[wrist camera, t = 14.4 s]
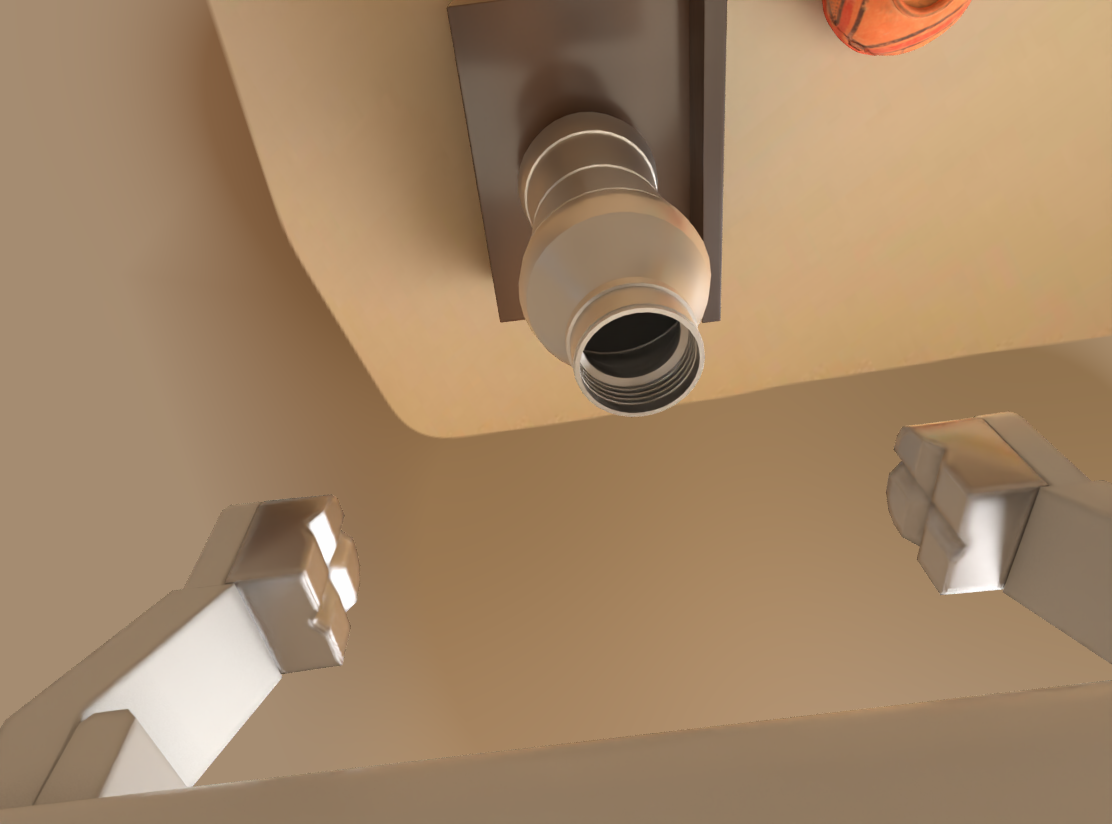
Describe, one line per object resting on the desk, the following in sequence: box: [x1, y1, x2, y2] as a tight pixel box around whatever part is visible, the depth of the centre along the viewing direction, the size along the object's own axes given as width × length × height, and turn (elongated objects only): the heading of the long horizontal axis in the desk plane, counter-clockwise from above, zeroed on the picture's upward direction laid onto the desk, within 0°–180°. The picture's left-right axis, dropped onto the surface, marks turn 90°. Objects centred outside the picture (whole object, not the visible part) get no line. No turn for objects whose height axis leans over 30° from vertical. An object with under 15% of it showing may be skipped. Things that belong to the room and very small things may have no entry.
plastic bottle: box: [518, 112, 711, 417], centre depth 28 cm, size 6×7×20 cm
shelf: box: [447, 0, 727, 323], centre depth 38 cm, size 12×16×9 cm
